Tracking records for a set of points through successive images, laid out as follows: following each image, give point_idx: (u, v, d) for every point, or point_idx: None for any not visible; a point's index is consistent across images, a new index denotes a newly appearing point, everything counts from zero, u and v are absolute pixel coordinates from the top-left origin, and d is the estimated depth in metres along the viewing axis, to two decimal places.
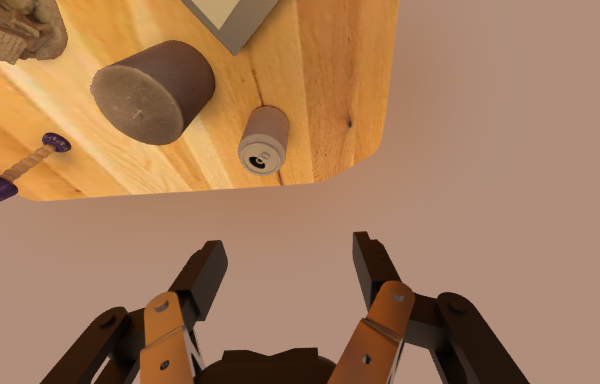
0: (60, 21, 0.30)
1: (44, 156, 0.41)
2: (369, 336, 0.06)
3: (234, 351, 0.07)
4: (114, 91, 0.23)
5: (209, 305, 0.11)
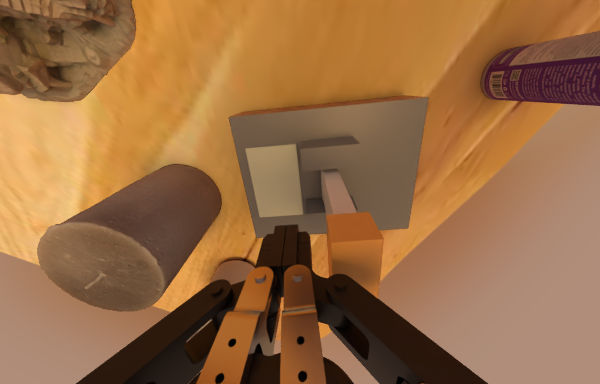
0: (89, 88, 0.23)
1: None
2: (294, 321, 0.07)
3: None
4: (88, 247, 0.16)
5: None
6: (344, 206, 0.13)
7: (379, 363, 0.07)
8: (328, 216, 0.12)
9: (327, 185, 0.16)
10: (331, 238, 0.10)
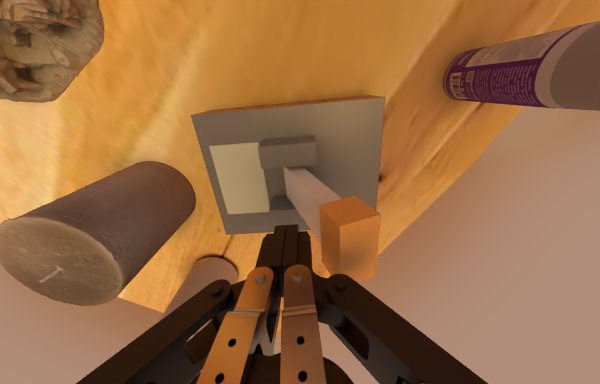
0: (61, 89, 0.24)
1: None
2: (294, 321, 0.07)
3: None
4: (43, 241, 0.16)
5: None
6: (328, 195, 0.14)
7: (379, 363, 0.07)
8: (322, 205, 0.12)
9: (300, 180, 0.17)
10: (337, 223, 0.11)
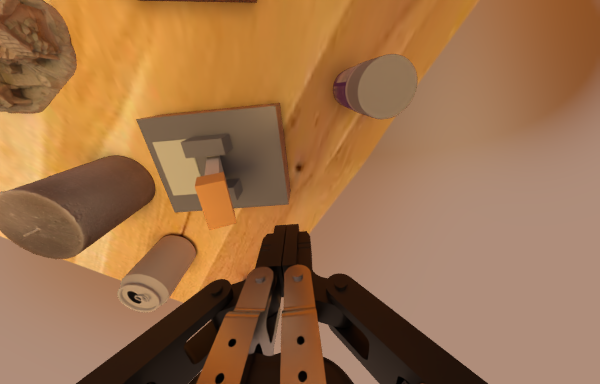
0: (46, 103, 0.31)
1: None
2: (294, 321, 0.07)
3: None
4: (25, 207, 0.23)
5: None
6: (212, 173, 0.21)
7: (379, 363, 0.07)
8: (198, 177, 0.19)
9: (206, 165, 0.24)
10: (195, 185, 0.18)
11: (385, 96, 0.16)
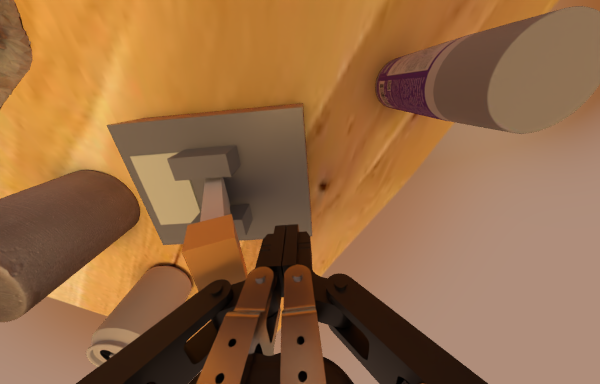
0: None
1: None
2: (294, 321, 0.07)
3: None
4: None
5: None
6: (213, 212, 0.14)
7: (379, 363, 0.07)
8: (189, 226, 0.12)
9: (204, 194, 0.16)
10: (183, 247, 0.10)
11: (541, 92, 0.09)
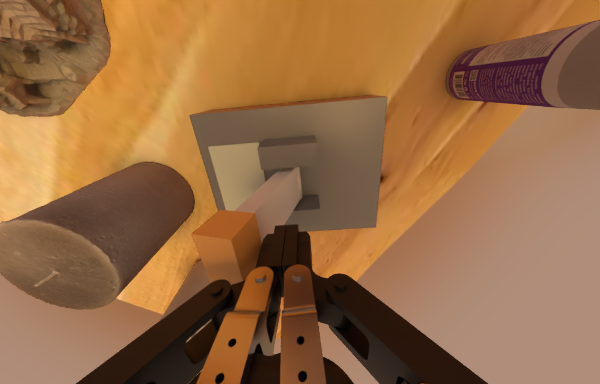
0: (68, 103, 0.24)
1: None
2: (294, 321, 0.07)
3: None
4: (37, 244, 0.16)
5: None
6: (252, 205, 0.14)
7: (379, 363, 0.07)
8: (220, 211, 0.13)
9: (265, 183, 0.17)
10: (196, 230, 0.11)
11: None
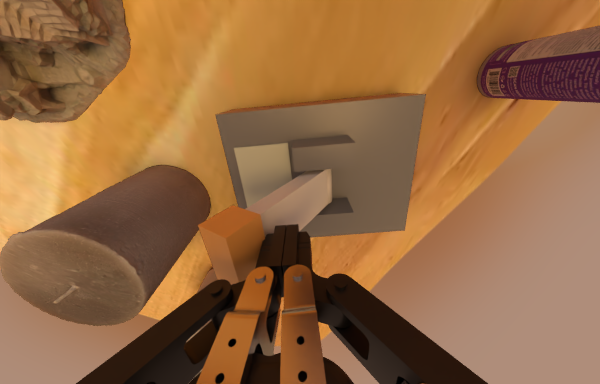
0: (83, 108, 0.23)
1: None
2: (294, 321, 0.07)
3: None
4: (57, 257, 0.14)
5: None
6: (264, 204, 0.14)
7: (379, 363, 0.07)
8: (231, 206, 0.13)
9: (287, 183, 0.17)
10: (203, 222, 0.12)
11: None
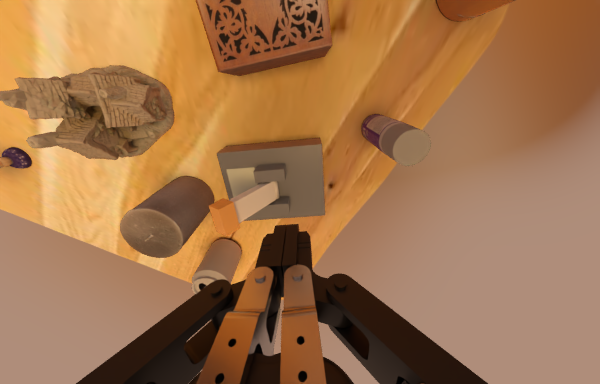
0: (146, 149, 0.41)
1: None
2: (294, 321, 0.07)
3: None
4: (146, 220, 0.32)
5: None
6: (237, 198, 0.31)
7: (379, 363, 0.07)
8: (222, 199, 0.31)
9: None
10: None
11: (410, 152, 0.25)
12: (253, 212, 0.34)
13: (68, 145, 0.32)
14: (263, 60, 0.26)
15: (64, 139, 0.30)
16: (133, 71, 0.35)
